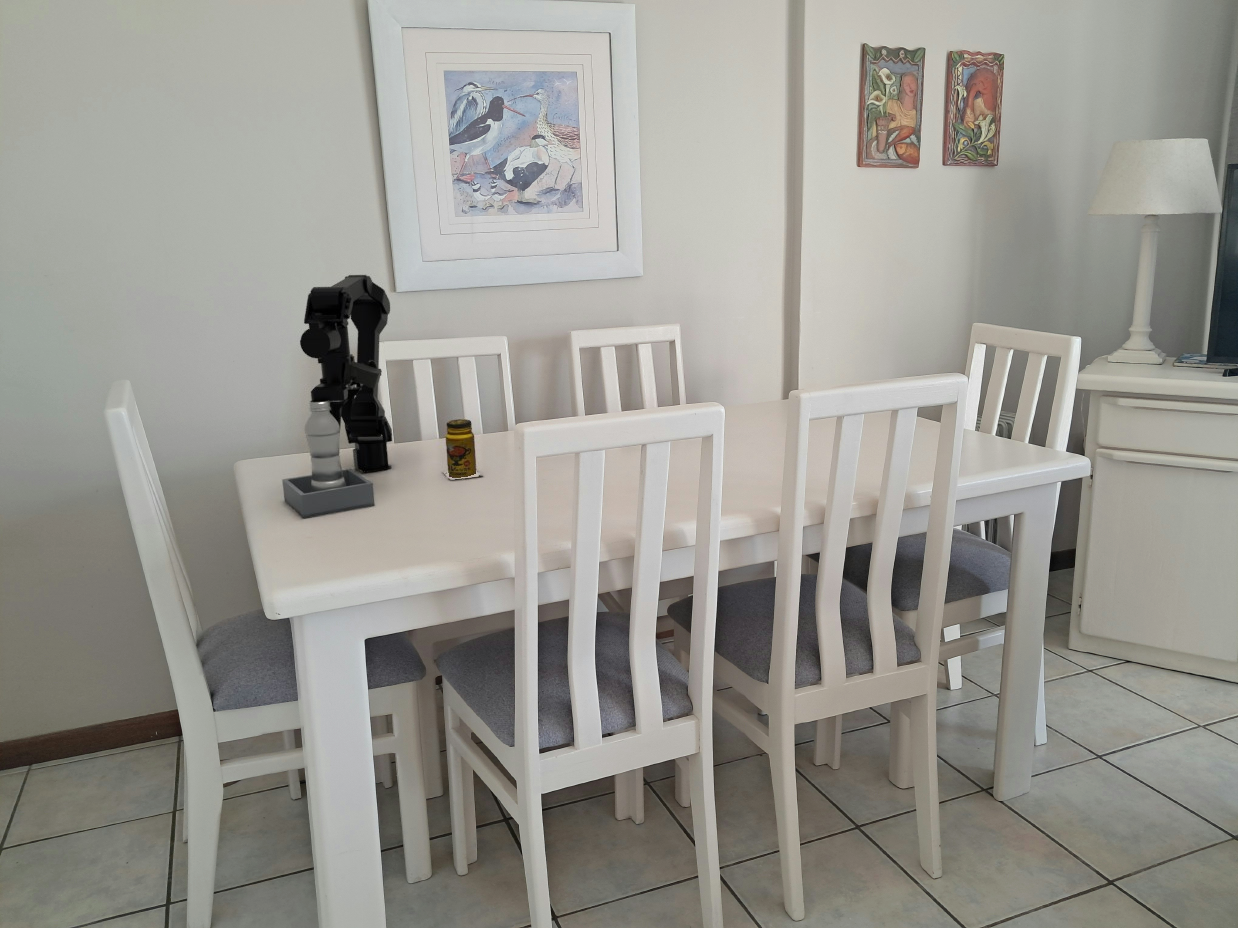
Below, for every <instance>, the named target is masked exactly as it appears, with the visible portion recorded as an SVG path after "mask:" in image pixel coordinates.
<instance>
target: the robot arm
mask: <svg viewBox="0 0 1238 928" xmlns="http://www.w3.org/2000/svg"><path fill="white" fill-rule="evenodd" d="M390 313H391V302H390V299H389V297H388V295H387V293H386V290H385V289H383V287H380V286H379V285H378V284H376V283H375V282H373V280H372V277H371V276H370V275H367V274H349V275H347V276H345V277H344V278H343V279H342V280H340V281H338V282H337V283H334V284H332V285H331V286H314V287H312V288H311V290H310V292H309V293H308V295H307V300H306V306H305V313H304V319H303V323H304V324H305V325H308V328H307V329H306V330H304V332H303V333H302V334H301V336H300V340H299V344H300V348H301V350H302V352H303V353H304V354H305V355H306V356H307V357H309V358H312V359H317V364H320V366H321V367H320V368H321V378H319V384H317V385H316V386H315V387H314V388H313V389H311V391H310V397H311V398H310V399H311V400H313V401H314V402H316V401H328V400H329V401H330V407H331V410H329V411H330V413H331V414H332V416H333V417H334V418H335V419H336V420H337V422H338V424H339V426H340V428H341V423H342V421H343V423H344V429H345V434H346V438H347V443H348V444H354V448H353V449H352V454H353V455H352V456H353V467H354V468H355V469H357V470H358V471H359V472H362V473H363V474H365V473H371V472H377V471H383V470H388V469H389V470H390V469H392V465H390V464H389V457H388V445H387V444H388V443H390V442H393V430H392V428H391V425H390V423H389V421H388V418H387V416H386V411H385V408H384V407H383V406H382V405H383V404H382V403H381V402H380V400H379V397H378V396H379V395H378V394H379V382H380V378H381V376H382V369H381V368H379V367H380V365H379V364H380V363H379V362H380V358H379V357H380V335H381V333H382V332H383V330H384V329H385V328H386V326H387V325H388V318H389V315H390ZM349 319H350V320H351V321H352V324H353V325H354V327H355V329H356V330H357V343H356V344H357V345H356V346H357V348H356V349H357V350H356V358H355V355H354V354H352V353H351V350H350V349H351V348H350V339H349V328H348V326H349V321H348V320H349ZM355 359H356V362H355ZM339 433H340V434H341V431H340V432H339Z"/></svg>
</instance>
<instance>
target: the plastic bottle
mask: <svg viewBox="0 0 1238 928" xmlns="http://www.w3.org/2000/svg"><path fill="white" fill-rule="evenodd" d="M329 410H331V407H330V401H329V400H328V401H316V402H314V401H313V400H312V399H311V400H309V412H311V414H310V415H309V417H308V418H307V419H306V422H305V424H304V435H305V438H306V442H307V447H308V450H309V455H310V462H311V475H312V481H311V492H317V491H323V490H329V489H335V488H341V487H346V483H345V480H344V477H343V473H342V470H343V469H342V464H341V455H340V454H341V453H340V434H341V427H340V426H339V424H338V422H337V420H336V419H335V418H334V417H333V416H332V414H331V413H330V411H329ZM339 432H340V433H339Z"/></svg>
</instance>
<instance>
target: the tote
mask: <svg viewBox="0 0 1238 928" xmlns="http://www.w3.org/2000/svg"><path fill="white" fill-rule="evenodd" d="M342 473H343V477H344V480H345V483H346V487H341V488H335V489H329V490H323V491H317V492H311V481H312V474H308V475H301V476H296V477H289V478H284V479H281V482H282V488H283V498H284V499H283V500H284V502H285V503H286V505H288V506H289V507H290V508H291V509H292V510H294V511H295V513H297V514H298V515H299V516H300V517H301V518H302V519H309V518H313V517H320V516H326V515H330V514H337V513H341V512H346V511H352V510H353V511H354V510H358V509H363V508H369V507H374V506H375V505H376V504H375V494H374V493H375V492H374V491H375V490H374V483H373V482H372V481H370V480H369V479H367V478H365V477H364V476H363V475H361V474H360V473H358V472H356V471H355V470H353V469H352V468H345V469H342ZM375 507H376V506H375Z"/></svg>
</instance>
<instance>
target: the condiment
mask: <svg viewBox="0 0 1238 928" xmlns="http://www.w3.org/2000/svg"><path fill="white" fill-rule="evenodd" d="M472 424H473V423H472V421H471V420H470V419H465V418H463V419H462V418H461V419H452V420H449V421H447V422H446V432H447V433H446V434H445V447H446V448H445V449H446V465H447V471H448V473H449V477H452V478H461V477H468V476H471V475H474V474H476V470H477V457H476V443H475V434H474V432H473V427H472V426H473V425H472ZM445 474H447V472H446V473H445Z"/></svg>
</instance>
